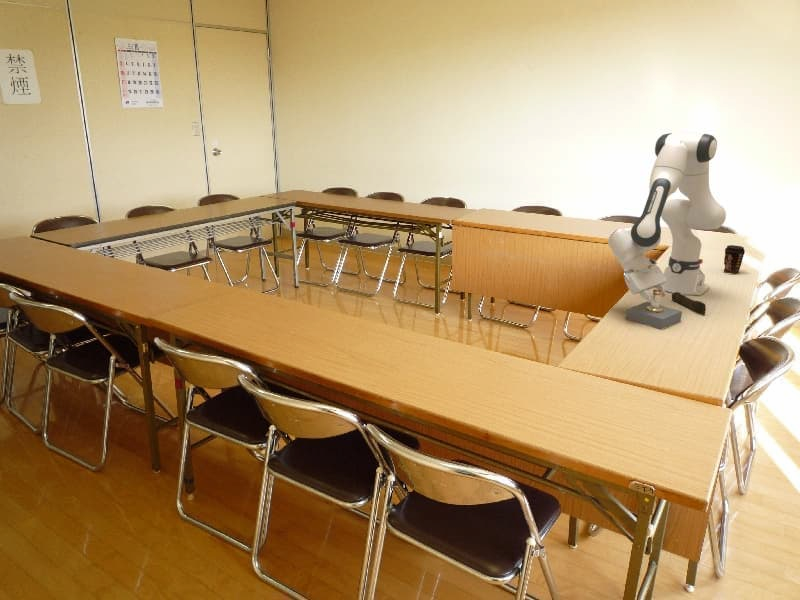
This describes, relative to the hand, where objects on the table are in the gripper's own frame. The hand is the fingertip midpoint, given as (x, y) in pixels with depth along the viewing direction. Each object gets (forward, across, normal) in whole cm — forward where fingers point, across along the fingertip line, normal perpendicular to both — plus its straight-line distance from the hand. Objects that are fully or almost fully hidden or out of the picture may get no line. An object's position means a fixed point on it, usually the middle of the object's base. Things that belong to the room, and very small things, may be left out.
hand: (657, 298), depth 217 cm
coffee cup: (-2, +93, +15) cm, 94 cm away
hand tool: (+7, +26, +6) cm, 27 cm away
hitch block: (+6, 0, +6) cm, 9 cm away
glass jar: (+5, 0, +6) cm, 8 cm away
